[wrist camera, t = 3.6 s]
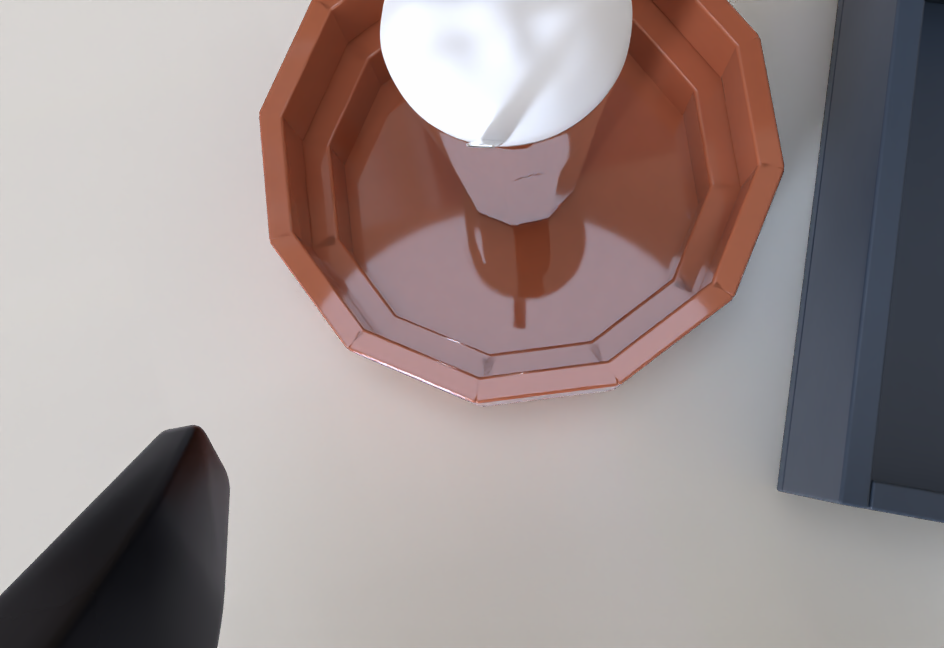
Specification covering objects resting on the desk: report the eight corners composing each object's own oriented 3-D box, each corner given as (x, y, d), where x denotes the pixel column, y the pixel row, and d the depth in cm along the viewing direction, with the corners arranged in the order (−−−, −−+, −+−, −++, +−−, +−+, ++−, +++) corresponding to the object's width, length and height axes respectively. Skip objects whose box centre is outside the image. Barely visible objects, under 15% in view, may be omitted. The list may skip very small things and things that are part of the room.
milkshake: (426, 271, 22) (333, 137, 12) (447, 88, 23) (374, -176, 13) (590, 285, 22) (629, 156, 12) (607, 98, 23) (656, -167, 13)
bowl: (474, 496, 21) (461, 506, 18) (223, 153, 23) (169, 104, 20) (835, 220, 22) (890, 178, 18) (556, -96, 24) (558, -187, 20)
